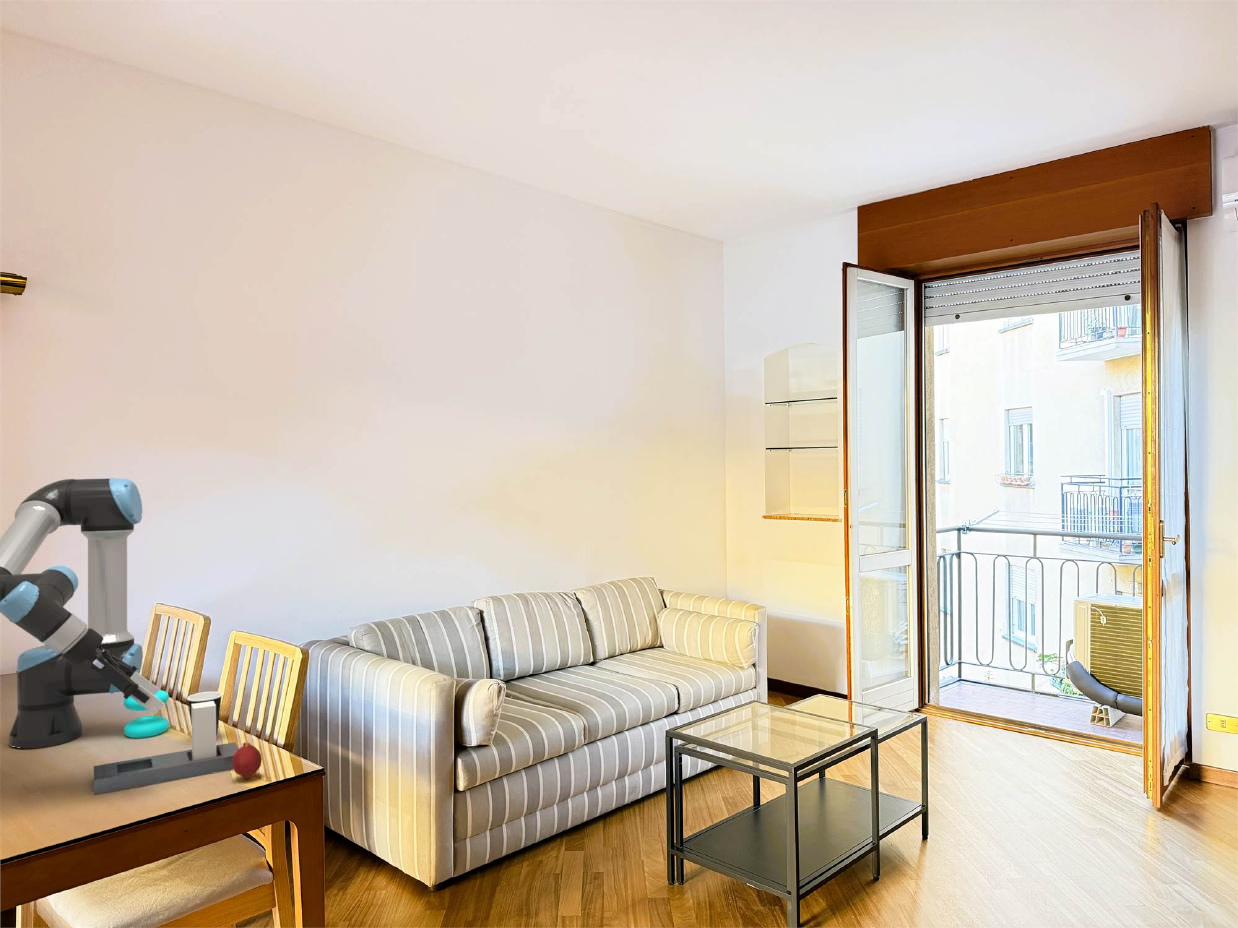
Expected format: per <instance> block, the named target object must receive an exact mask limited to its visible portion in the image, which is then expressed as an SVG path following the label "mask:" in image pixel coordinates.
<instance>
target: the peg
mask: <svg viewBox="0 0 1238 928" xmlns="http://www.w3.org/2000/svg"><path fill="white" fill-rule="evenodd" d="M191 720H192V726H191V750H192V760H198V759H204V758H209V757H215V756H216V745H217V736H216V705H215V703H214V701H209V702H202V703H195V704H191V718H190V721H191Z"/></svg>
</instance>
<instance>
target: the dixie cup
mask: <svg viewBox="0 0 1238 928" xmlns="http://www.w3.org/2000/svg"><path fill="white" fill-rule="evenodd" d="M222 697H223V693H222V692H220V691H202V692H197V693H193V694H191V695H188V696H187V697H186V700H187V702H188V711H189V718H190V724H191V725H190V726H191V727H192V720H191V704H195V703H202V702H209V701H214V703H215V705H216V737H217V736H218V733H219V723H220V713H221V704H222Z"/></svg>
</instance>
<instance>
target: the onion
mask: <svg viewBox="0 0 1238 928" xmlns="http://www.w3.org/2000/svg"><path fill="white" fill-rule="evenodd" d="M262 759H263V758H262V755H261V752H260V750H259V749H258V748H257V747H256V746H254V745H253V744H251V743H250V742H248V741H244V742H243V743H242V746H241V747H239V749H238V751H237V752H236V753H235V755H234V757H233V760H232V766H233V769H232V770H233V771H234V773H236V774H237V775H238V776H240V777H242V778H243V779H244V778H245V779H246V780H248V779H250V778H251V777H252V776H254V775H255V774H256V773H257V772H258V771H259V769H260V767H261V766H262ZM247 778H248V779H247ZM245 779H244V780H245Z"/></svg>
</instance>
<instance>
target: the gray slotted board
mask: <svg viewBox="0 0 1238 928" xmlns="http://www.w3.org/2000/svg"><path fill="white" fill-rule="evenodd" d="M238 749H240V747H239V746H238V744H237V743H236V741H234V742H233V741H232V742H227V743H222V744H216V756H215V757H209V758H204V759H198V760H192V749H186V750H181V751H175V752H168V753H163V754H157V755H151V756H145V757H140V758H134V759H128V760H122V761H115V762H110V763H104V764H98V765H93V796H96V795H102V794H106V793H112V792H116V791H117V792H118V791H123V790H130V789H134V788H140V787H145V786H146V787H147V786H151V785H157V784H161V783H167V782H171V781H177V780H183V779H188V777H189V778H194V777H199V776H198V775H200V776H205V775H209V774H214V773H213V772H216V773H221V772H226V771H231V769H232V770H234V769H233V766H232V760H233V757H234V755H235V753H236V752H237V751H238ZM220 771H221V772H220Z"/></svg>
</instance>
